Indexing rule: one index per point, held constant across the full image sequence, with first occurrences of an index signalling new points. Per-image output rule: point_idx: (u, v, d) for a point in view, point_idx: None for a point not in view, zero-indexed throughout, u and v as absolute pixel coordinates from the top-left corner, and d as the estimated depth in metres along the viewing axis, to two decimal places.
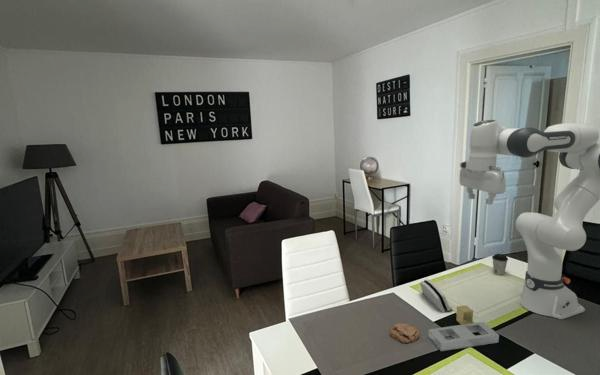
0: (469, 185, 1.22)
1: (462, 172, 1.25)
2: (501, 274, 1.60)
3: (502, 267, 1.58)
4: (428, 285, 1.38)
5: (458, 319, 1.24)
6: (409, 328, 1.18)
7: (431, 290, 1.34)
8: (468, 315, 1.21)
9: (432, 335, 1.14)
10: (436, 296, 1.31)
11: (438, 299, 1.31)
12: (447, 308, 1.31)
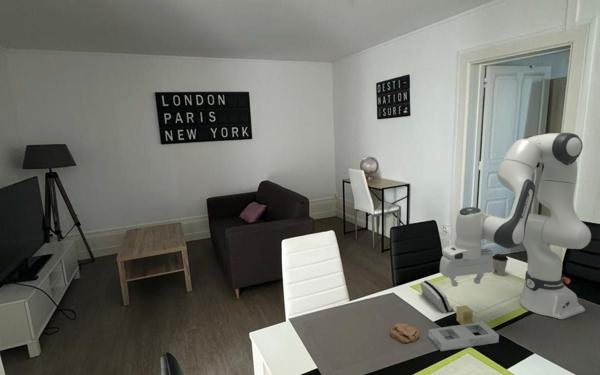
0: (460, 274, 1.18)
1: (451, 263, 1.16)
2: (501, 274, 1.60)
3: (502, 267, 1.58)
4: (429, 286, 1.37)
5: (458, 319, 1.24)
6: (409, 328, 1.18)
7: (432, 291, 1.34)
8: (468, 315, 1.21)
9: (432, 335, 1.14)
10: (437, 297, 1.31)
11: (439, 300, 1.30)
12: (448, 308, 1.31)
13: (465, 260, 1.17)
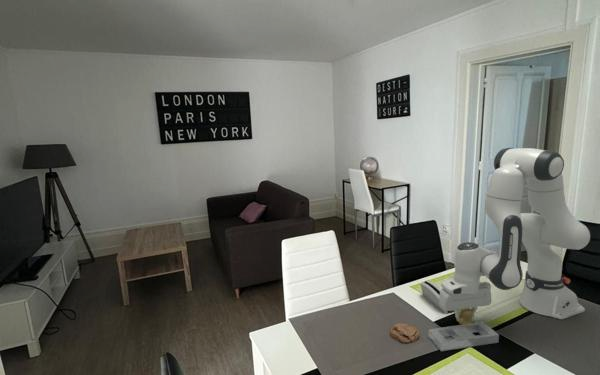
0: (458, 307, 1.20)
1: (450, 298, 1.19)
2: None
3: None
4: (430, 286, 1.37)
5: (458, 319, 1.24)
6: (409, 328, 1.18)
7: (433, 291, 1.34)
8: (468, 314, 1.21)
9: (432, 335, 1.14)
10: None
11: None
12: None
13: (464, 294, 1.19)
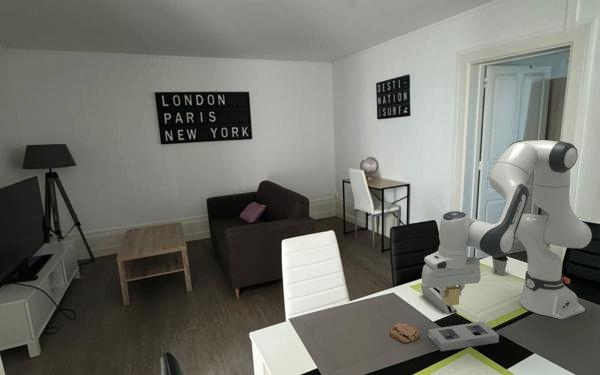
0: (443, 284, 1.07)
1: (434, 273, 1.06)
2: (501, 274, 1.60)
3: (502, 267, 1.58)
4: None
5: (443, 299, 1.11)
6: (409, 328, 1.18)
7: (435, 292, 1.33)
8: (453, 293, 1.08)
9: (432, 335, 1.14)
10: (441, 298, 1.30)
11: None
12: (451, 309, 1.30)
13: (449, 269, 1.06)
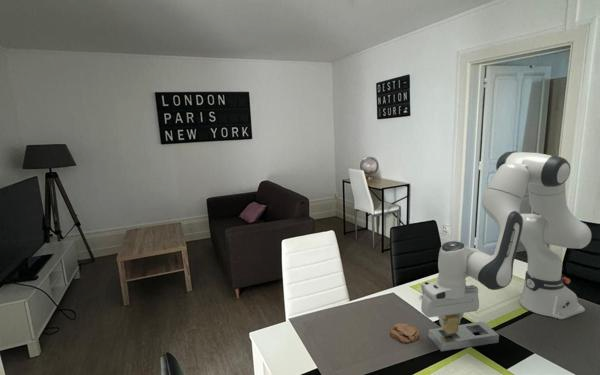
0: (442, 313, 1.09)
1: (433, 303, 1.07)
2: None
3: None
4: None
5: (442, 326, 1.13)
6: (409, 328, 1.18)
7: None
8: (453, 321, 1.10)
9: (432, 335, 1.14)
10: None
11: None
12: None
13: (448, 299, 1.08)
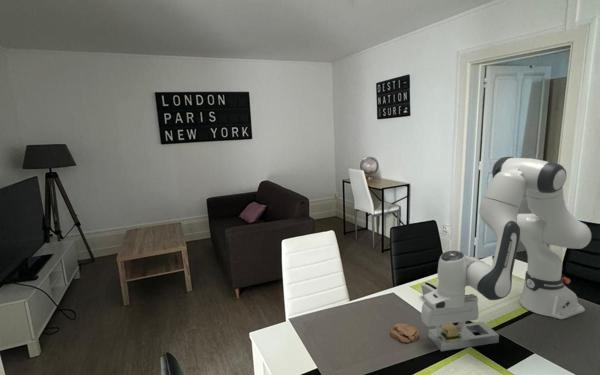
0: (442, 322, 1.10)
1: (433, 312, 1.08)
2: None
3: None
4: (432, 287, 1.35)
5: None
6: (409, 328, 1.18)
7: None
8: (452, 334, 1.11)
9: (432, 335, 1.14)
10: None
11: None
12: None
13: (448, 308, 1.09)
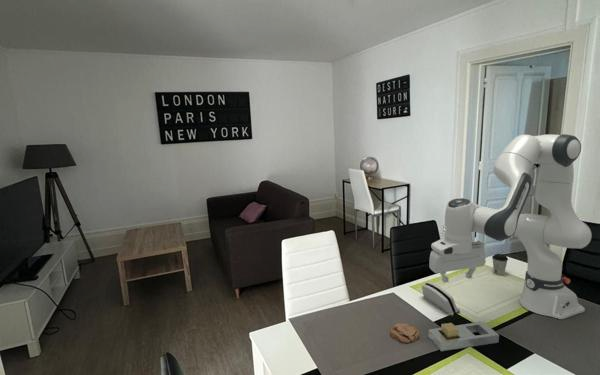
0: (450, 269, 1.12)
1: (441, 259, 1.10)
2: (501, 274, 1.60)
3: (502, 267, 1.58)
4: (433, 288, 1.35)
5: None
6: (409, 328, 1.18)
7: (438, 293, 1.32)
8: (452, 334, 1.11)
9: (432, 335, 1.14)
10: (445, 299, 1.29)
11: (447, 302, 1.28)
12: (455, 310, 1.30)
13: (455, 254, 1.11)
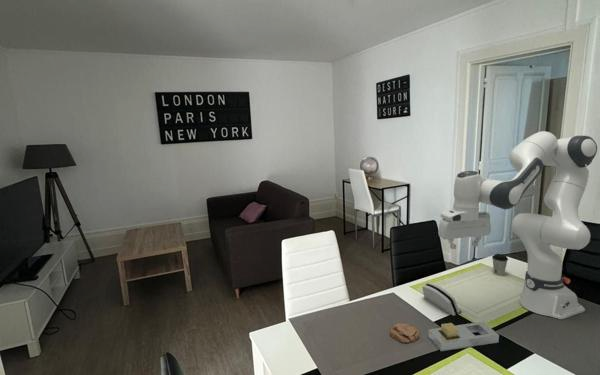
0: (458, 236, 1.21)
1: (449, 225, 1.19)
2: (501, 274, 1.60)
3: (502, 267, 1.58)
4: (434, 289, 1.34)
5: None
6: (409, 328, 1.18)
7: (440, 294, 1.31)
8: (452, 334, 1.11)
9: (432, 335, 1.14)
10: (447, 299, 1.28)
11: (449, 302, 1.28)
12: (457, 310, 1.29)
13: (463, 222, 1.20)
